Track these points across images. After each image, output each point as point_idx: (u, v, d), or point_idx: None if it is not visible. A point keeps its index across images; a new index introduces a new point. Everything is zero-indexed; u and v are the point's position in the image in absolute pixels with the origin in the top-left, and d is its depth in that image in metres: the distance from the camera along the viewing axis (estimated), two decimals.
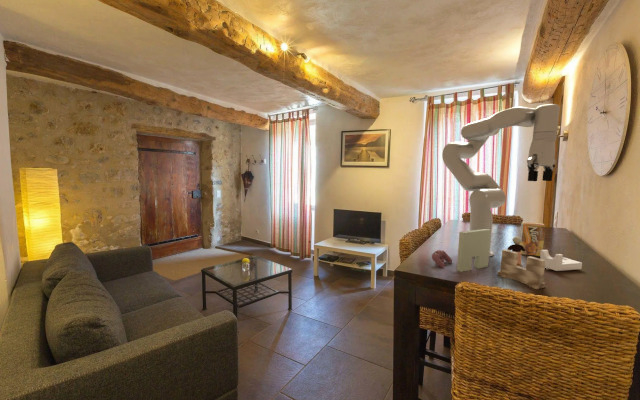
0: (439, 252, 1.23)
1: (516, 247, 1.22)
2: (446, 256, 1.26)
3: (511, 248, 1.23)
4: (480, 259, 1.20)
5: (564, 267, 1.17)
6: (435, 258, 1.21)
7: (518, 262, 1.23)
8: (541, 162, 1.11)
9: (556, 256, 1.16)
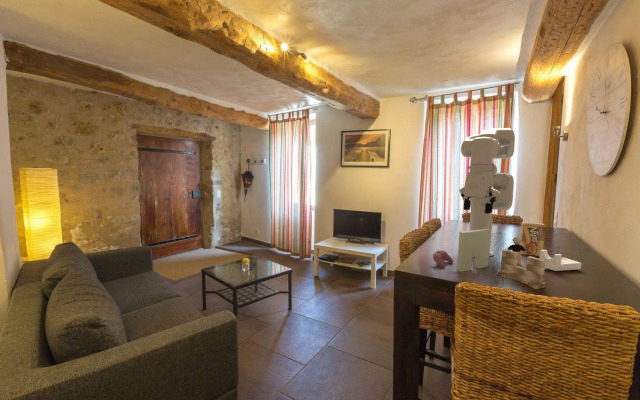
0: (440, 252, 1.23)
1: (516, 247, 1.22)
2: (447, 256, 1.26)
3: (511, 248, 1.23)
4: (480, 259, 1.20)
5: (563, 267, 1.17)
6: (436, 258, 1.21)
7: (518, 262, 1.23)
8: None
9: (555, 256, 1.16)
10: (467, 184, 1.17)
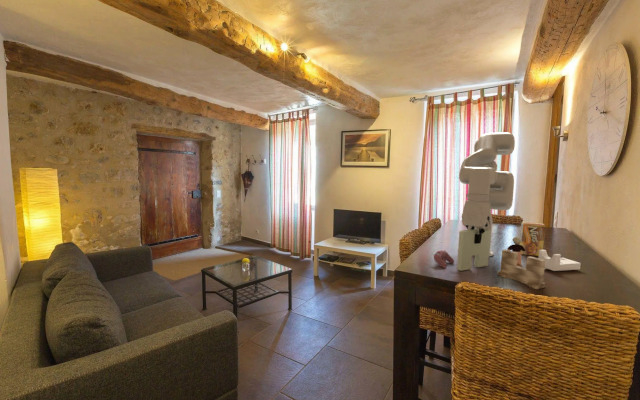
0: (441, 252, 1.23)
1: (516, 247, 1.22)
2: (448, 256, 1.26)
3: (511, 248, 1.23)
4: (480, 258, 1.20)
5: (562, 267, 1.17)
6: (437, 258, 1.21)
7: (518, 262, 1.23)
8: None
9: (554, 256, 1.16)
10: (465, 212, 1.19)
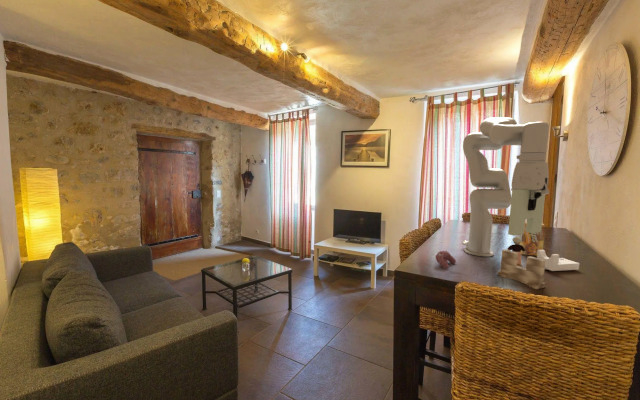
0: (443, 253, 1.22)
1: (516, 247, 1.22)
2: (450, 257, 1.25)
3: (511, 248, 1.23)
4: (534, 223, 1.05)
5: (560, 267, 1.17)
6: (439, 259, 1.20)
7: (518, 262, 1.23)
8: None
9: (552, 256, 1.16)
10: (516, 175, 1.04)
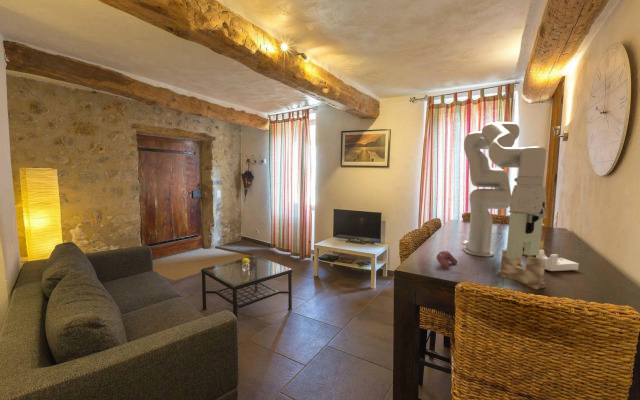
0: (444, 253, 1.22)
1: None
2: (451, 257, 1.25)
3: None
4: (532, 246, 1.06)
5: (559, 267, 1.16)
6: (440, 259, 1.20)
7: (518, 262, 1.23)
8: None
9: (551, 256, 1.16)
10: (514, 198, 1.05)
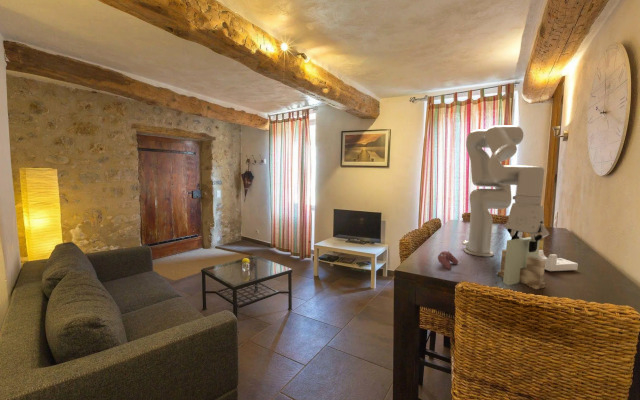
0: (445, 253, 1.22)
1: None
2: (452, 257, 1.25)
3: None
4: None
5: (558, 267, 1.16)
6: (441, 259, 1.20)
7: None
8: None
9: (550, 256, 1.16)
10: (512, 216, 1.06)
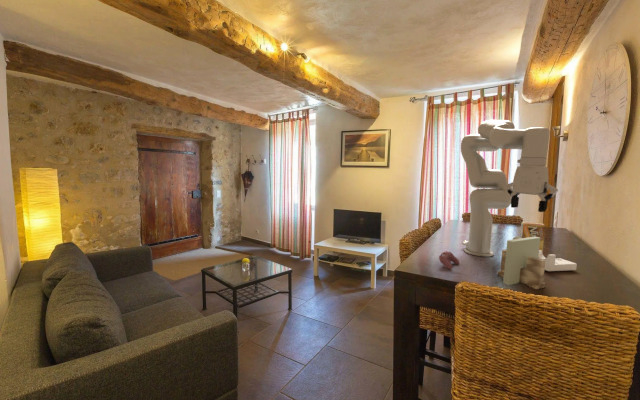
0: (446, 253, 1.22)
1: None
2: (453, 257, 1.24)
3: None
4: None
5: (557, 267, 1.16)
6: (443, 260, 1.20)
7: None
8: None
9: (548, 256, 1.16)
10: (517, 179, 1.06)
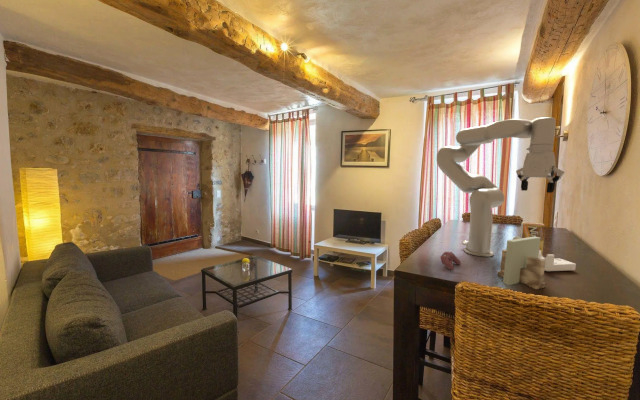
0: (448, 254, 1.21)
1: None
2: (454, 258, 1.24)
3: None
4: None
5: (556, 268, 1.16)
6: (444, 260, 1.19)
7: None
8: None
9: (547, 256, 1.15)
10: (526, 164, 1.19)
